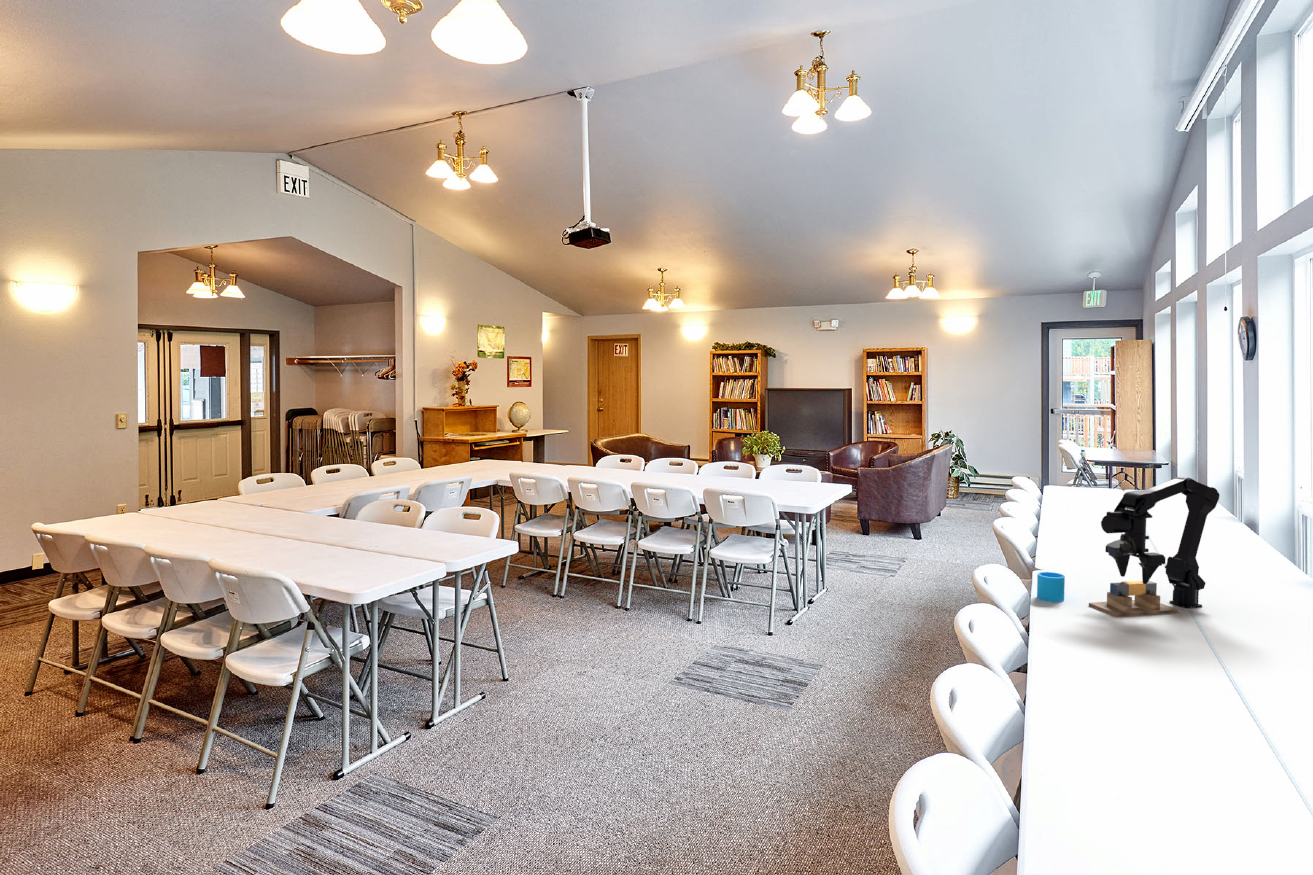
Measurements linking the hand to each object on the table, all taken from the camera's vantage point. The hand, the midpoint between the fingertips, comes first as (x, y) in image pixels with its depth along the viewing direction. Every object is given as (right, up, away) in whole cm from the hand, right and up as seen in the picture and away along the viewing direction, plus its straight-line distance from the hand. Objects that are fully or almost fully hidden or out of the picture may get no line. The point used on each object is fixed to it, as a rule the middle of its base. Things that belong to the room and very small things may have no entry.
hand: (1133, 580), depth 240 cm
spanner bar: (0, -5, 0) cm, 5 cm away
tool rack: (0, -10, +1) cm, 10 cm away
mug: (-18, -9, +15) cm, 25 cm away
